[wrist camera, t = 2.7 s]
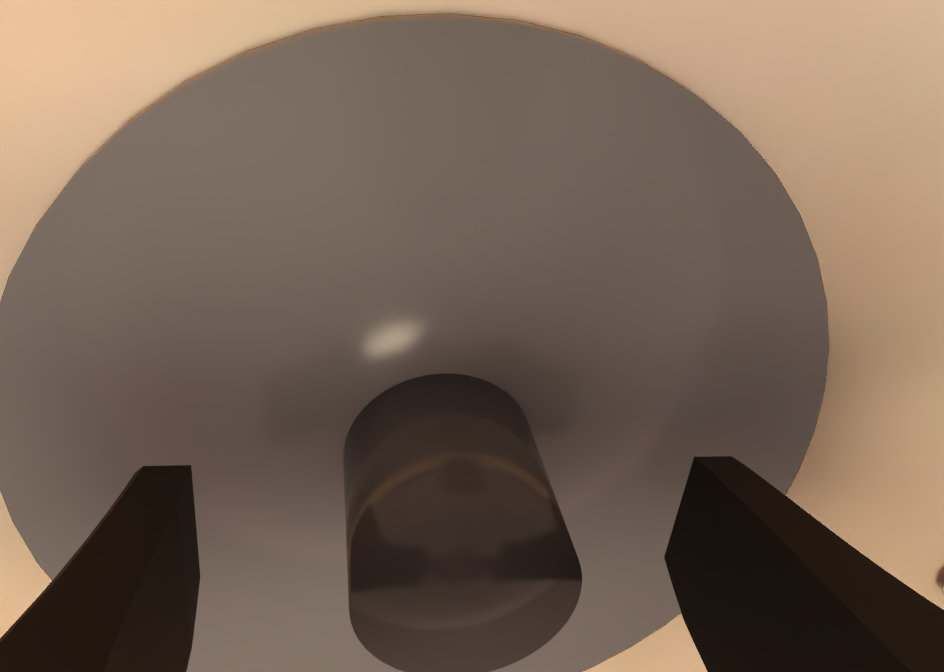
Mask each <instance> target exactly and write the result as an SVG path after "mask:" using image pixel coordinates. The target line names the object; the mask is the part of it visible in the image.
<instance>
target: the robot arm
mask: <svg viewBox="0 0 944 672" xmlns="http://www.w3.org/2000/svg"><path fill="white" fill-rule="evenodd" d="M664 559H665V562H666V566H667V569H668V572H669V576H670V579H671V582H672V585H673V589H674V592H675V595H676V598H677V601H678V604H679V607H680V610H681V613H682V616H683V619H684V621H685V623H686V626H687V628H688V630H689V632H690V635H691V637H692V639H693V641H694V643H695V645H696V647H697V650H698V652H699V654H700V656H701V658H702V660H703V663H704V665H705V667H706V669H707V671H708V672H944V610H943V609H941V608H939V607H938V606H936V605H935V604H933V603H932V602H930V601H929V600H927V599H926V598H924V597H923V596H921V595H920V594H918V593H917V592H916V591H914V590H913V589H911V588H910V587H908V586H907V585H905V584H904V583H902V582H901V581H899V580H898V579H897V578H895V577H894V576H892V575H891V574H889V573H888V572H886V571H885V570H884V569H882V568H881V567H879V566H878V565H877V564H875V563H874V562H872V561H871V560H870V559H868V558H867V557H866V556H864V555H863V554H861V553H860V552H859V551H857V550H856V549H855V548H853V547H852V546H851V545H849V544H848V543H847V542H845V541H844V540H843V539H841V538H840V537H839V536H837V535H836V534H835V533H833V532H832V531H831V530H829V529H828V528H827V527H825V526H824V525H823V524H821V523H820V522H819V521H818V520H816V519H815V518H814V517H812V516H811V515H810V514H808V513H807V512H806V511H805V510H803V509H802V508H801V507H799V506H798V505H797V504H796V503H794V502H793V501H792V500H790V499H789V498H788V497H787V496H785V495H784V494H783V493H781V492H780V491H779V490H777V489H776V488H775V487H774V486H772V485H771V484H770V483H768V482H767V481H766V480H764V479H763V478H762V477H760V476H759V475H758V474H756V473H755V472H754V471H752V470H751V469H750V468H748V467H747V466H745V465H744V464H743V463H741V462H740V461H738V460H737V459H735V458H734V457H732V456H712V457H694V459H693V462H692V465H691V469H690V472H689V475H688V479H687V482H686V486H685V489H684V492H683V496H682V499H681V502H680V506H679V509H678V512H677V516H676V519H675V522H674V526H673V529H672V532H671V536H670V539H669V542H668V546H667V549H666V552H665V556H664ZM199 584H200V566H199V554H198V542H197V530H196V518H195V506H194V494H193V482H192V469H191V465H168V466H142V467H141V468H140V469H139V470H138V471H137V472H135V473H134V475H133V476H132V478H131V479H130V481H129V482H128V484H127V485H126V487H125V488H124V489H123V491H122V492H121V494H120V495H119V496H118V498H117V499H116V501H115V502H114V503H113V505H112V506H111V507H110V509H109V510H108V512H107V513H106V514H105V516H104V517H103V518H102V520H101V521H100V522H99V523H98V525H97V526H96V527H95V529H94V530H93V531H92V533H91V534H90V535H89V536H88V538H87V539H86V540H85V542H84V543H83V544H82V545H81V546H80V548H79V549H78V550H77V551H76V553H75V554H74V555H73V556H72V557H71V559H70V560H69V561H68V562H67V564H66V565H65V566H64V567H63V568H62V570H61V571H60V572H59V573H58V575H57V576H56V577H55V578H54V579H53V581H52V582H51V583H50V584H49V585H48V586H47V588H46V589H45V590H44V591H43V592H42V593H41V595H40V596H39V597H38V598H37V599H36V600H35V601H34V602H33V603H32V604H31V606H30V607H29V608H28V609H27V610H26V611H25V612H24V613H23V614H22V615H21V617H20V618H19V619H18V620H17V621H16V622H15V623H14V624H13V625H12V626H11V627H10V629H9V630H8V631H7V632H6V633H5V634H4V635H3V636H2V637H1V638H0V672H186V671H187V667H188V663H189V658H190V654H191V649H192V643H193V635H194V627H195V619H196V610H197V602H198V593H199ZM943 595H944V587H943Z"/></svg>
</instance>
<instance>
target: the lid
mask: <svg viewBox="0 0 944 672" xmlns="http://www.w3.org/2000/svg"><path fill="white" fill-rule="evenodd" d="M828 353H829V335H828V315H827V301H826V296H825V292H824V287H823V282H822V278H821V273H820V268H819V263H818V259H817V256H816V254H815V251H814V248H813V246H812V243H811V241H810V238H809V236H808V233H807V231H806V228H805V226H804V223H803V220H802V218H801V215H800V213H799V212H798V210H797V208H796V207H795V205H794V203H793V202H792V200H791V198H790V197H789V195H788V193H787V192H786V190H785V188H784V187H783V185H782V183H781V182H780V180H779V178H778V177H777V175H776V173H775V172H774V171H773V170H772V168H771V167H770V166H769V165H768V164H767V163H766V161H765V160H764V159H763V158H762V157H761V156H760V154H759V153H758V152H757V151H756V150H755V149H754V147H753V146H752V145H751V144H750V143H749V141H748V140H747V139H746V138H745V137H744V136H743V134H742V133H741V132H740V131H738V130H737V129H736V128H735V127H734V126H733V125H731V124H730V123H729V122H728V121H727V120H725V119H724V118H723V117H722V116H721V115H719V114H718V113H717V112H716V111H715V110H714V109H712V108H711V107H710V106H709V105H708V104H706V103H705V102H704V101H703V100H702V99H700V98H699V97H698V96H697V95H695V94H693V93H692V92H690V91H689V90H687V89H685V88H684V87H682V86H680V85H679V84H677V83H675V82H674V81H672V80H670V79H669V78H667V77H665V76H664V75H662V74H660V73H659V72H657V71H656V70H654V69H652V68H651V67H649V66H647V65H646V64H644V63H642V62H641V61H639V60H637V59H635V58H633V57H630V56H628V55H625V54H623V53H620V52H618V51H616V50H613V49H611V48H608V47H606V46H603V45H601V44H599V43H596V42H594V41H591V40H589V39H586V38H584V37H581V36H579V35H575V34H571V33H566V32H562V31H558V30H554V29H550V28H546V27H542V26H538V25H534V24H530V23H526V22H522V21H518V20H509V19H499V18H489V17H479V16H469V15H459V14H430V15H406V16H382V17H376V18H370V19H365V20H359V21H354V22H348V23H343V24H338V25H332V26H327V27H321V28H316V29H311V30H308V31H305V32H302V33H299V34H296V35H293V36H290V37H287V38H284V39H281V40H278V41H275V42H272V43H269V44H266V45H263V46H260V47H257V48H254V49H251V50H248V51H245V52H243V53H241V54H239V55H237V56H235V57H233V58H231V59H229V60H227V61H225V62H223V63H221V64H219V65H217V66H215V67H213V68H211V69H209V70H207V71H205V72H203V73H201V74H199V75H197V76H195V77H193V78H191V79H189V80H187V81H185V82H183V83H182V84H180V85H179V86H178V87H176V88H175V89H173V90H172V91H170V92H169V93H167V94H166V95H165V96H163V97H162V98H160V99H159V100H157V101H156V102H155V103H153V104H152V105H150V106H149V107H147V108H146V109H144V110H143V111H142V112H140V113H139V114H137V115H136V116H134V117H133V118H131V119H130V120H129V121H128V122H127V123H126V124H125V125H124V126H123V127H122V128H120V129H119V130H118V131H117V132H116V133H115V134H114V135H113V136H112V137H111V138H110V139H109V140H108V141H107V142H106V143H105V144H104V145H103V146H101V147H100V148H99V149H98V150H97V151H96V152H95V153H94V154H93V155H92V156H91V157H90V158H89V159H88V160H87V161H86V162H85V163H84V164H83V165H82V166H81V167H80V169H79V170H78V171H77V173H76V174H75V175H74V176H73V178H72V179H71V180H70V182H69V183H68V184H67V186H66V187H65V188H64V190H63V191H62V192H61V193H60V195H59V196H58V197H57V199H56V200H55V201H54V203H53V204H52V205H51V207H50V208H49V209H48V210H47V212H46V213H45V214H44V216H43V217H42V218H41V220H40V221H39V222H38V223H37V225H36V227H35V228H34V230H33V232H32V234H31V236H30V238H29V240H28V242H27V243H26V245H25V247H24V249H23V251H22V253H21V255H20V257H19V259H18V260H17V262H16V264H15V266H14V268H13V270H12V272H11V274H10V275H9V277H8V280H7V283H6V287H5V290H4V293H3V296H2V299H1V302H0V491H1V493H2V496H3V498H4V501H5V503H6V506H7V508H8V511H9V513H10V516H11V518H12V521H13V523H14V525H15V527H16V528H17V530H18V532H19V533H20V535H21V537H22V538H23V540H24V541H25V543H26V545H27V546H28V548H29V550H30V551H31V553H32V555H33V556H34V558H35V560H36V561H37V563H38V564H39V565H40V567H41V568H42V569H43V570H44V571H45V573H46V574H47V575H48V576H49V577H50V579H51V580H52V581H53V579H54V578H55V577H56V576H57V575H58V573H59V572H60V571H61V570H62V568H63V567H64V566H65V565H66V564H67V562H68V561H69V560H70V559H71V557H72V556H73V555H74V554H75V553H76V551H77V550H78V549H79V548H80V546H81V545H82V544H83V543H84V542H85V540H86V539H87V538H88V536H89V535H90V534H91V533H92V531H93V530H94V529H95V527H96V526H97V525H98V523H99V522H100V521H101V520H102V518H103V517H104V516H105V514H106V513H107V512H108V510H109V509H110V507H111V506H112V505H113V503H114V502H115V501H116V499H117V498H118V496H119V495H120V494H121V492H122V491H123V489H124V488H125V487H126V485H127V484H128V482H129V481H130V479H131V478H132V476H133V475H134V473H135V472H137V471H138V470H139V469H140V468H141V467H142V466H168V465H191V469H192V482H193V494H194V506H195V518H196V530H197V542H198V554H199V566H200V584H199V593H198V602H197V610H196V619H195V627H194V635H193V643H192V649H191V654H190V658H189V663H188V667H187V671H186V672H582V671H585V670H587V669H589V668H592V667H594V666H596V665H598V664H599V663H601V662H603V661H605V660H607V659H609V658H611V657H613V656H615V655H617V654H619V653H621V652H622V651H624V650H626V649H628V648H630V647H632V646H633V645H635V644H636V643H638V642H639V641H641V640H642V639H644V638H646V637H647V636H649V635H650V634H652V633H653V632H655V631H657V630H658V629H660V628H661V627H663V626H664V625H666V624H667V623H668V622H670V621H671V620H672V619H674V618H675V617H676V616H677V615H679V614H680V613H681V610H680V607H679V604H678V601H677V598H676V595H675V592H674V589H673V585H672V582H671V579H670V576H669V572H668V569H667V566H666V562H665V559H664V556H665V552H666V549H667V546H668V542H669V539H670V536H671V532H672V529H673V526H674V522H675V519H676V516H677V512H678V509H679V506H680V502H681V499H682V496H683V492H684V489H685V486H686V482H687V479H688V475H689V472H690V469H691V465H692V462H693V459H694V457H712V456H732V457H734V458H735V459H737V460H738V461H740V462H741V463H743V464H744V465H745V466H747V467H748V468H750V469H751V470H752V471H754V472H755V473H756V474H758V475H759V476H760V477H762V478H763V479H764V480H766V481H767V482H768V483H770V484H771V485H772V486H774V487H775V488H776V489H777V490H779V491H780V492H781V493H783V494H784V495H786V493H787V491H788V489H789V487H790V486H791V484H792V482H793V480H794V478H795V476H796V475H797V473H798V471H799V469H800V466H801V464H802V461H803V459H804V456H805V454H806V451H807V449H808V446H809V443H810V441H811V438H812V436H813V433H814V431H815V427H816V423H817V419H818V415H819V411H820V407H821V403H822V399H823V395H824V391H825V382H826V372H827V362H828Z"/></svg>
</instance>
